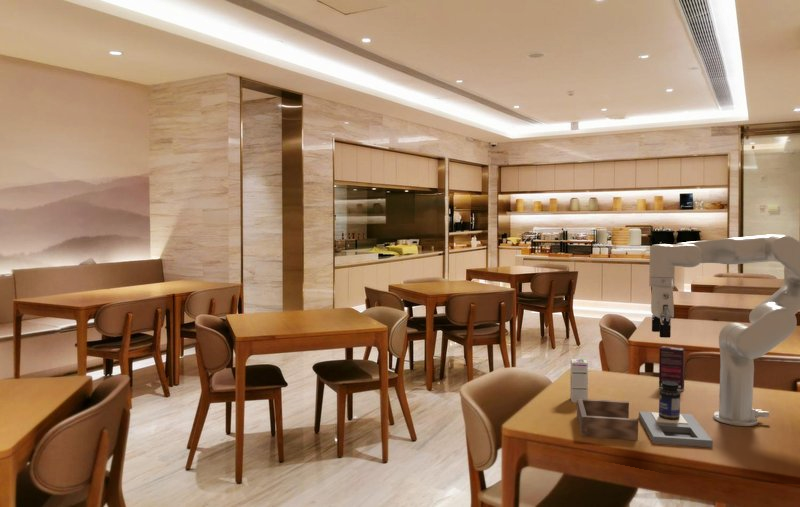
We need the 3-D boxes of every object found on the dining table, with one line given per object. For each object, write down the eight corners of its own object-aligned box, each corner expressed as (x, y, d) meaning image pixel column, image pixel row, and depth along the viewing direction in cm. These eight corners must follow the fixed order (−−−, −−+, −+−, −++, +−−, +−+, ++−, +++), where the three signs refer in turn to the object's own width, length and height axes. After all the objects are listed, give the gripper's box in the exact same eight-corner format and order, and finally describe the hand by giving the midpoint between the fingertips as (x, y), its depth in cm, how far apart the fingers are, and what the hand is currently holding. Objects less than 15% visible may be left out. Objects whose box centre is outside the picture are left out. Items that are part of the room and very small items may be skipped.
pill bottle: (654, 415, 198) (655, 381, 197) (670, 413, 200) (671, 379, 199) (668, 421, 192) (668, 386, 191) (684, 419, 194) (685, 384, 193)
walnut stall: (627, 419, 201) (628, 401, 200) (637, 440, 182) (638, 420, 182) (576, 416, 204) (577, 398, 204) (581, 436, 185) (581, 416, 185)
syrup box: (588, 403, 218) (588, 362, 217) (570, 402, 219) (571, 362, 219) (586, 398, 224) (587, 359, 223) (569, 397, 225) (570, 358, 224)
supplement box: (684, 388, 237) (685, 348, 236) (682, 391, 232) (683, 350, 231) (660, 385, 241) (661, 345, 240) (658, 388, 237) (659, 347, 236)
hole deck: (691, 420, 200) (691, 413, 200) (712, 447, 177) (712, 439, 176) (638, 417, 203) (639, 410, 203) (653, 443, 180) (653, 435, 180)
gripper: (681, 285, 191) (680, 340, 192) (666, 279, 208) (665, 329, 209) (656, 285, 192) (655, 339, 193) (643, 279, 209) (642, 329, 210)
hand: (660, 334), depth 201 cm, fingers open, 9 cm apart
